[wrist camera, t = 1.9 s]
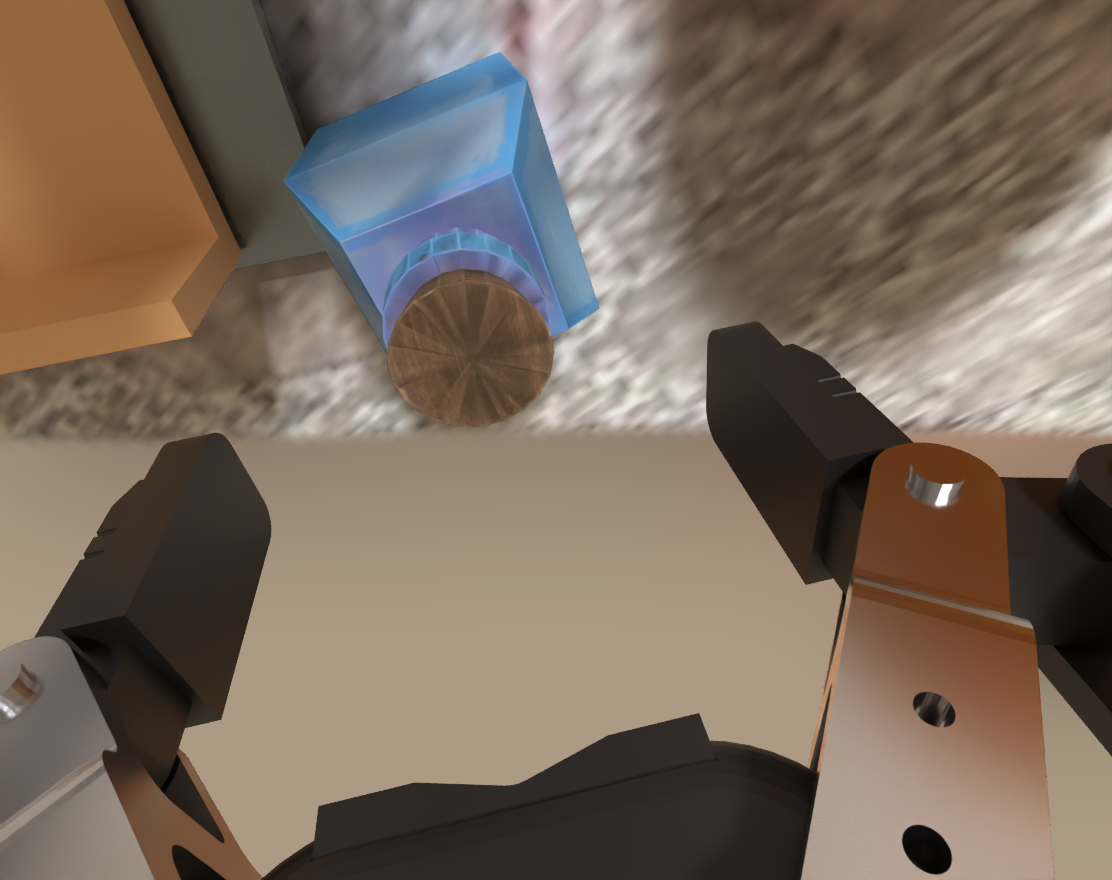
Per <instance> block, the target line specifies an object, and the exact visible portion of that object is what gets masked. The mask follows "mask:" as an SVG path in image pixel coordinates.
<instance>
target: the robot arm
mask: <svg viewBox="0 0 1112 880" xmlns="http://www.w3.org/2000/svg"><path fill="white" fill-rule="evenodd" d="M706 412H707V420H708V424H709V428H710V432H711V434H712V437H713V439H714V441H715V443H716V445H717V446H718V448H719V450H720V451H721V452H722V454H723V456H724V457H725V459H726V460H727V462H728V464H729V465H730V467H731V468H732V470H733V471H734V473H735V475H736V476H737V478H738V479H739V481H740V482H741V484H742V486H743V487H744V489H745V490H746V492H747V493H748V495H749V497H750V498H751V500H752V501H753V503H754V504H755V506H756V507H757V509H758V511H759V512H760V514H761V515H762V517H763V518H764V520H765V522H766V523H767V525H768V526H769V528H770V529H771V531H772V533H773V534H774V536H775V537H776V539H777V540H778V542H779V543H780V545H781V547H782V548H783V550H784V551H785V553H786V554H787V556H788V558H789V559H790V561H791V562H792V564H793V565H794V567H795V569H796V570H797V572H798V573H799V575H800V576H801V578H802V579H803V581H804V583H805V584H806V585H807V584H811V583H815V582H820V581H824V580H828V579H832V578H834V580H835V581H836V583H837V584H838V585H839V587H840V588H841V590H842V596H841V600H840V604H839V609H838V615H837V620H836V625H835V630H834V635H833V640H832V646H831V651H830V656H829V661H828V667H827V672H826V677H825V682H824V687H823V693H822V698H821V703H820V709H819V714H818V718H817V723H816V728H815V732H814V737H813V741H812V746H811V751H810V756H809V761H808V765H807V767H805V766H803V765H802V764H800V763H798V762H796V761H793V760H791V759H789V758H786V757H784V756H781V755H779V754H776V753H774V752H771V751H768V750H764V749H761V748H756V747H753V746H750V745H745V744H739V743H732V742H726V741H709V738H708V735H707V733H706V730H705V727H704V725H703V722H702V720H701V717H700V715H699V713H698V714H694V715H690V716H685V717H682V718H677V719H673V720H669V721H665V722H661V723H657V724H653V725H649V726H644V727H640V728H636V729H632V730H628V731H624V732H620V733H616V734H612V735H608V736H606V737H604V738H603V739H601V740H599V741H597V742H595V743H593V744H591V745H590V746H588V747H586V748H584V749H582V750H581V751H579V752H577V753H575V754H573V755H571V756H570V757H568V758H566V759H564V760H562V761H560V762H559V763H557V764H555V765H553V766H551V767H550V768H548V769H546V770H544V771H542V772H540V773H538V774H537V775H535V776H533V777H531V778H530V779H528V780H526V781H523V782H521V783H519V784H516V785H510V786H496V785H495V786H494V785H467V784H438V783H411V784H407V785H403V786H399V787H395V788H391V789H387V790H383V791H379V792H375V793H371V794H366V795H363V796H359V797H354V798H350V799H346V800H342V801H338V802H334V803H330V804H326V805H322V806H319V808H318V816H317V823H316V831H315V839H314V841H313V842H311V843H310V844H308V845H306V846H305V847H303V848H302V849H300V850H299V851H297V852H296V853H294V854H293V855H291V856H290V857H289V858H287V859H286V860H284V861H283V862H281V863H280V864H279V865H278V866H276V867H275V868H274V869H273V870H272V871H270V872H269V873H268V874H267V875H266V876H265V877H262V876H261V875H260V874H259V873H258V872H257V871H256V869H255V868H254V867H253V866H252V864H251V863H250V862H249V861H248V859H247V858H246V856H245V855H244V853H243V852H242V850H241V849H240V847H239V845H238V844H237V842H236V840H235V838H234V837H233V835H232V833H231V831H230V830H229V828H228V826H227V824H226V823H225V821H224V819H223V817H222V816H221V814H220V812H219V811H218V809H217V807H216V805H215V804H214V802H213V800H212V798H211V797H210V795H209V793H208V791H207V790H206V788H205V786H204V784H203V783H202V781H201V779H200V778H199V776H198V774H197V772H196V771H195V769H194V767H193V765H192V764H191V762H190V760H189V758H188V757H187V756H186V755H185V754H184V753H183V752H182V751H181V750H180V749H179V745H180V741H181V739H182V735H183V732H184V729H185V728H187V727H192V726H196V725H200V724H204V723H209V722H213V721H217V720H221V718H222V715H223V711H224V707H225V704H226V700H227V696H228V693H229V689H230V685H231V682H232V678H233V674H234V671H235V667H236V663H237V660H238V656H239V652H240V649H241V645H242V641H243V638H244V634H245V630H246V627H247V623H248V619H249V616H250V612H251V608H252V605H253V601H254V597H255V594H256V590H257V586H258V583H259V579H260V575H261V572H262V568H263V564H264V561H265V557H266V553H267V550H268V546H269V542H270V538H271V521H270V516H269V512H268V509H267V506H266V504H265V502H264V500H263V498H262V497H261V495H260V493H259V491H258V490H257V488H256V486H255V485H254V483H253V481H252V480H251V478H250V476H249V474H248V473H247V471H246V469H245V468H244V466H243V464H242V462H241V461H240V459H239V457H238V456H237V454H236V452H235V450H234V449H233V447H232V445H231V444H230V442H229V441H228V440H227V439H226V438H225V437H224V436H223V435H222V434H219V433H212V434H207V435H203V436H198V437H193V438H188V439H183V440H179V441H174V442H169V443H167V444H165V445H164V446H163V447H162V449H161V450H160V452H159V454H158V456H157V458H156V459H155V461H154V463H153V465H152V466H151V468H150V470H149V472H148V474H147V475H146V477H145V479H144V480H140V481H138V482H137V483H136V484H135V485H134V486H133V487H132V488H131V489H130V490H129V491H128V492H127V493H126V494H125V495H123V496H122V497H121V498H120V499H119V500H118V501H117V502H116V503H115V504H114V505H113V506H112V507H111V509H110V511H109V512H108V514H107V516H106V517H105V519H104V521H103V523H102V524H101V526H100V528H99V529H98V531H97V534H98V537H95V538H93V539H92V541H91V543H90V544H89V546H88V548H87V550H86V551H85V553H84V556H85V559H83V560H80V561H79V563H78V565H77V566H76V568H75V570H74V572H73V573H72V575H71V577H70V578H69V580H68V582H67V583H66V585H65V587H64V588H63V590H62V592H61V593H60V595H59V597H58V599H57V600H56V602H55V604H54V605H53V607H52V609H51V610H50V612H49V614H48V615H47V617H46V619H45V620H44V622H43V624H42V625H41V627H40V629H39V631H38V632H37V634H36V636H35V637H34V638H32V639H29V640H25V641H22V642H19V643H17V644H14V645H12V646H9V647H8V648H5V649H3V650H1V651H0V880H1055V876H1054V864H1053V850H1052V838H1051V825H1050V812H1049V800H1048V787H1047V775H1046V762H1045V749H1044V738H1043V737H1044V736H1043V724H1042V712H1041V699H1040V687H1039V675H1038V674H1039V673H1038V667H1039V669H1040V670H1041V671H1042V672H1043V673H1044V675H1045V676H1046V677H1047V678H1048V679H1049V681H1050V682H1051V683H1052V684H1053V686H1054V687H1055V688H1056V689H1057V690H1058V692H1059V693H1060V694H1061V695H1062V696H1063V698H1064V699H1065V700H1066V701H1067V702H1068V704H1069V705H1070V706H1071V707H1072V709H1073V710H1074V711H1075V712H1076V713H1077V715H1078V716H1079V717H1080V718H1081V720H1082V721H1083V722H1084V723H1085V724H1086V726H1087V727H1088V728H1089V729H1090V731H1091V732H1092V733H1093V734H1094V735H1095V737H1096V738H1097V739H1098V740H1099V741H1100V743H1101V744H1102V745H1103V746H1104V748H1105V749H1106V750H1107V751H1108V752H1109V754H1110V755H1111V756H1112V444H1104V445H1099V446H1096V447H1092V448H1090V449H1088V450H1086V451H1085V452H1083V453H1082V454H1081V455H1080V457H1079V458H1078V459H1077V461H1076V463H1075V465H1074V467H1073V469H1072V471H1071V473H1070V475H1069V477H1068V478H1012V477H999V476H998V475H997V473H996V472H995V471H994V470H993V469H992V468H991V467H990V466H988V465H987V464H986V463H984V462H983V461H982V460H980V459H978V458H977V457H975V456H972V455H971V454H969V453H966V452H964V451H961V450H959V449H956V448H952V447H949V446H945V445H940V444H932V443H914V442H912V441H911V440H910V439H909V438H908V437H907V436H906V435H905V434H904V433H903V432H902V431H901V430H900V429H899V428H898V427H896V426H895V425H894V424H893V423H892V422H891V421H890V420H889V419H888V418H887V417H886V416H885V415H884V414H883V413H881V412H880V411H879V410H878V409H877V408H876V407H875V406H874V405H873V404H872V403H871V402H870V401H869V400H868V399H866V398H865V397H864V396H863V395H862V394H861V393H860V392H859V393H857V392H856V388H855V387H854V386H853V385H852V384H850V383H849V382H848V381H847V380H846V379H845V378H841V377H840V373H839V372H838V371H837V370H835V369H834V368H833V367H832V366H831V365H830V364H829V363H828V362H827V361H826V360H825V359H824V358H823V357H822V356H819V355H817V354H815V353H813V352H810V351H808V350H806V349H804V348H801V347H799V346H797V345H795V344H790V345H785V346H783V345H782V344H781V343H780V342H779V341H778V340H777V339H776V338H775V337H774V336H773V335H772V334H771V333H770V332H769V331H768V330H767V329H766V328H765V327H764V326H763V325H762V324H760V323H759V322H750V323H746V324H741V325H736V326H731V327H726V328H722V329H717V330H713V331H711V332H710V334H709V337H708V344H707V392H706Z"/></svg>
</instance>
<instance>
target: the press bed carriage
mask: <svg viewBox="0 0 1112 880" xmlns="http://www.w3.org/2000/svg"><path fill="white" fill-rule="evenodd" d="M241 256H242V253H241V251H240V249H239V246H238V244H237V242H236V240H235V238H234V236H233V234H232V231H231V229H230V227H229V225H228V223H227V221H226V218H225V216H224V214H223V212H222V210H221V208H220V206H219V203H218V201H217V199H216V197H215V195H214V193H213V191H212V188H211V186H210V184H209V182H208V180H207V178H206V176H205V173H204V171H203V169H202V167H201V165H200V163H199V161H198V158H197V156H196V154H195V152H194V150H193V148H192V146H191V143H190V141H189V139H188V137H187V135H186V133H185V131H184V128H183V126H182V124H181V122H180V120H179V118H178V116H177V113H176V111H175V109H174V107H173V105H172V103H171V101H170V98H169V96H168V94H167V92H166V90H165V88H164V86H163V83H162V81H161V79H160V77H159V75H158V73H157V70H156V68H155V66H154V64H153V62H152V60H151V58H150V55H149V53H148V51H147V49H146V47H145V45H144V43H143V40H142V38H141V36H140V34H139V32H138V30H137V28H136V25H135V23H134V21H133V19H132V17H131V15H130V13H129V10H128V8H127V6H126V4H125V2H124V0H0V375H2V374H7V373H12V372H17V371H22V370H27V369H32V368H37V367H42V366H47V365H52V364H57V363H62V362H67V361H72V360H77V359H82V358H87V357H92V356H97V355H102V354H107V353H112V352H117V351H122V350H127V349H132V348H137V347H142V346H147V345H152V344H157V343H162V342H167V341H172V340H177V339H182V338H187V337H192V335H193V334H194V332H195V330H196V329H197V327H198V326H199V324H200V322H201V321H202V319H203V318H204V316H205V314H206V313H207V311H208V310H209V308H210V306H211V305H212V303H213V302H214V300H215V298H216V297H217V295H218V293H219V292H220V290H221V289H222V287H223V285H224V284H225V282H226V281H227V279H228V277H229V276H230V274H231V273H232V271H233V269H234V268H235V266H236V265H237V263H238V261H239V260H240V258H241Z"/></svg>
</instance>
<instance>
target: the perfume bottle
mask: <svg viewBox="0 0 1112 880" xmlns="http://www.w3.org/2000/svg"><path fill="white" fill-rule="evenodd" d="M284 183H285V184H286V186H287V188H288V189H289V191H290V193H291V194H292V196H293V198H294V199H295V201H296V203H297V204H298V206H299V208H300V209H301V211H302V213H303V214H304V216H305V218H306V219H307V221H308V223H309V224H310V226H311V228H312V229H313V231H314V233H315V235H316V236H317V238H318V240H319V241H320V243H321V245H322V246H323V248H324V250H325V251H326V253H327V255H328V256H329V258H330V260H331V261H332V263H333V265H334V266H335V268H336V270H337V271H338V273H339V275H340V276H341V278H342V280H343V281H344V283H345V285H346V286H347V288H348V290H349V291H350V293H351V295H352V296H353V298H354V300H355V301H356V303H357V305H358V306H359V308H360V310H361V311H362V313H363V315H364V316H365V318H366V320H367V321H368V323H369V325H370V326H371V328H372V330H373V331H374V333H375V335H376V336H377V338H378V340H379V341H380V343H381V345H382V346H383V348H384V350H385V351H386V353H387V355H388V370H389V372H390V375H391V377H392V380H393V382H394V385H395V387H396V390H397V391H398V392H399V393H400V394H401V395H402V396H403V398H404V399H405V400H406V401H407V402H408V403H409V405H410V406H411V407H412V408H414V409H416V410H417V411H419V412H420V413H422V414H424V415H425V416H427V417H429V418H430V419H432V420H435V421H439V422H442V423H446V424H449V425H453V426H471V427H480V426H484V425H488V424H493V423H497V422H501V421H504V420H506V419H507V418H509V417H511V416H513V415H515V414H517V413H519V412H520V411H522V410H524V409H525V408H526V407H527V406H528V405H529V404H530V403H531V402H532V401H533V400H534V399H535V398H536V397H537V396H538V395H539V394H540V393H541V391H542V389H543V387H544V385H545V383H546V381H547V380H548V378H549V376H550V374H551V367H552V361H553V355H554V350H553V344H552V339H551V336H553V335H555V334H558V333H560V332H563V331H565V330H568V329H570V328H571V327H573V326H574V325H576V324H577V323H578V322H580V321H581V320H583V319H584V318H586V317H587V316H589V315H590V314H592V313H593V312H594V311H596V310H597V309H599V306H598V303H597V300H596V297H595V294H594V291H593V287H592V284H591V281H590V278H589V275H588V272H587V269H586V265H585V262H584V259H583V256H582V253H581V250H580V246H579V243H578V240H577V237H576V234H575V231H574V227H573V224H572V221H571V218H570V215H569V212H568V208H567V205H566V202H565V199H564V196H563V193H562V190H561V186H560V183H559V180H558V177H557V174H556V171H555V167H554V164H553V161H552V158H551V155H550V152H549V148H548V145H547V142H546V139H545V136H544V133H543V130H542V126H541V123H540V120H539V117H538V114H537V111H536V107H535V104H534V101H533V98H532V95H531V92H530V88H529V85H528V82H527V79H526V78H525V77H524V76H523V75H522V74H521V73H520V72H519V71H518V70H517V69H516V68H515V67H514V66H513V65H512V64H511V63H510V62H509V61H508V60H507V59H506V58H505V57H504V56H503V55H502V54H501V53H500V52H498V53H496V54H493V55H491V56H488V57H486V58H484V59H481V60H479V61H477V62H474V63H472V64H469V65H467V66H465V67H462V68H460V69H458V70H455V71H453V72H450V73H448V74H446V75H443V76H441V77H439V78H436V79H434V80H432V81H429V82H427V83H424V84H422V85H420V86H417V87H415V88H413V89H410V90H408V91H405V92H403V93H401V94H398V95H396V96H394V97H391V98H389V99H387V100H384V101H382V102H379V103H377V104H375V105H372V106H370V107H368V108H365V109H363V110H360V111H358V112H356V113H353V114H351V115H349V116H346V117H344V118H341V119H339V120H337V121H334V122H332V123H330V124H327V125H325V126H323V127H320V128H318V129H317V130H316V132H315V133H314V135H313V136H312V138H311V139H310V141H309V142H308V144H307V146H306V147H305V149H304V150H303V152H302V153H301V155H300V156H299V158H298V159H297V161H296V162H295V164H294V166H293V167H292V169H291V170H290V172H289V173H288V175H287V176H286V178H285V179H284Z"/></svg>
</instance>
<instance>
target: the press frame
mask: <svg viewBox="0 0 1112 880" xmlns="http://www.w3.org/2000/svg"><path fill="white" fill-rule="evenodd" d="M124 2H125V4H126V6H127V8H128V10H129V13H130V15H131V17H132V19H133V21H134V23H135V25H136V28H137V30H138V32H139V34H140V36H141V38H142V40H143V43H144V45H145V47H146V49H147V51H148V53H149V55H150V58H151V60H152V62H153V64H154V66H155V68H156V70H157V73H158V75H159V77H160V79H161V81H162V83H163V86H164V88H165V90H166V92H167V94H168V96H169V98H170V101H171V103H172V105H173V107H174V109H175V111H176V113H177V116H178V118H179V120H180V122H181V124H182V126H183V128H184V131H185V133H186V135H187V137H188V139H189V141H190V143H191V146H192V148H193V150H194V152H195V154H196V156H197V158H198V161H199V163H200V165H201V167H202V169H203V171H204V173H205V176H206V178H207V180H208V182H209V184H210V186H211V188H212V191H213V193H214V195H215V197H216V199H217V201H218V203H219V206H220V208H221V210H222V212H223V214H224V216H225V218H226V221H227V223H228V225H229V227H230V229H231V231H232V234H233V236H234V238H235V240H236V242H237V244H238V246H239V249H240V251H241V253H242V256H241V258H240V260H239V261H238V263H237V265H236V266H235V268H234V269H238V268H244V267H249V266H254V265H259V264H264V263H269V262H274V261H280V260H285V259H290V258H295V257H300V256H305V255H310V254H316V253H321V252H326V251H325V250H324V248H323V246H322V245H321V243H320V241H319V240H318V238H317V236H316V235H315V233H314V231H313V229H312V228H311V226H310V224H309V223H308V221H307V219H306V218H305V216H304V214H303V213H302V211H301V209H300V208H299V206H298V204H297V203H296V201H295V199H294V198H293V196H292V194H291V193H290V191H289V189H288V188H287V186H286V184H285V183H284V179H285V178H286V176H287V175H288V173H289V172H290V170H291V169H292V167H293V166H294V164H295V162H296V161H297V159H298V158H299V156H300V155H301V153H302V152H303V150H304V149H305V147H306V146H307V144H308V142H309V140H308V137H307V134H306V131H305V129H304V126H303V123H302V120H301V117H300V114H299V112H298V109H297V106H296V103H295V100H294V98H293V95H292V92H291V89H290V86H289V83H288V81H287V78H286V75H285V72H284V69H283V66H282V64H281V61H280V58H279V55H278V52H277V50H276V47H275V44H274V41H273V38H272V35H271V33H270V30H269V27H268V24H267V21H266V18H265V16H264V13H263V10H262V7H261V4H260V2H259V0H124Z"/></svg>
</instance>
